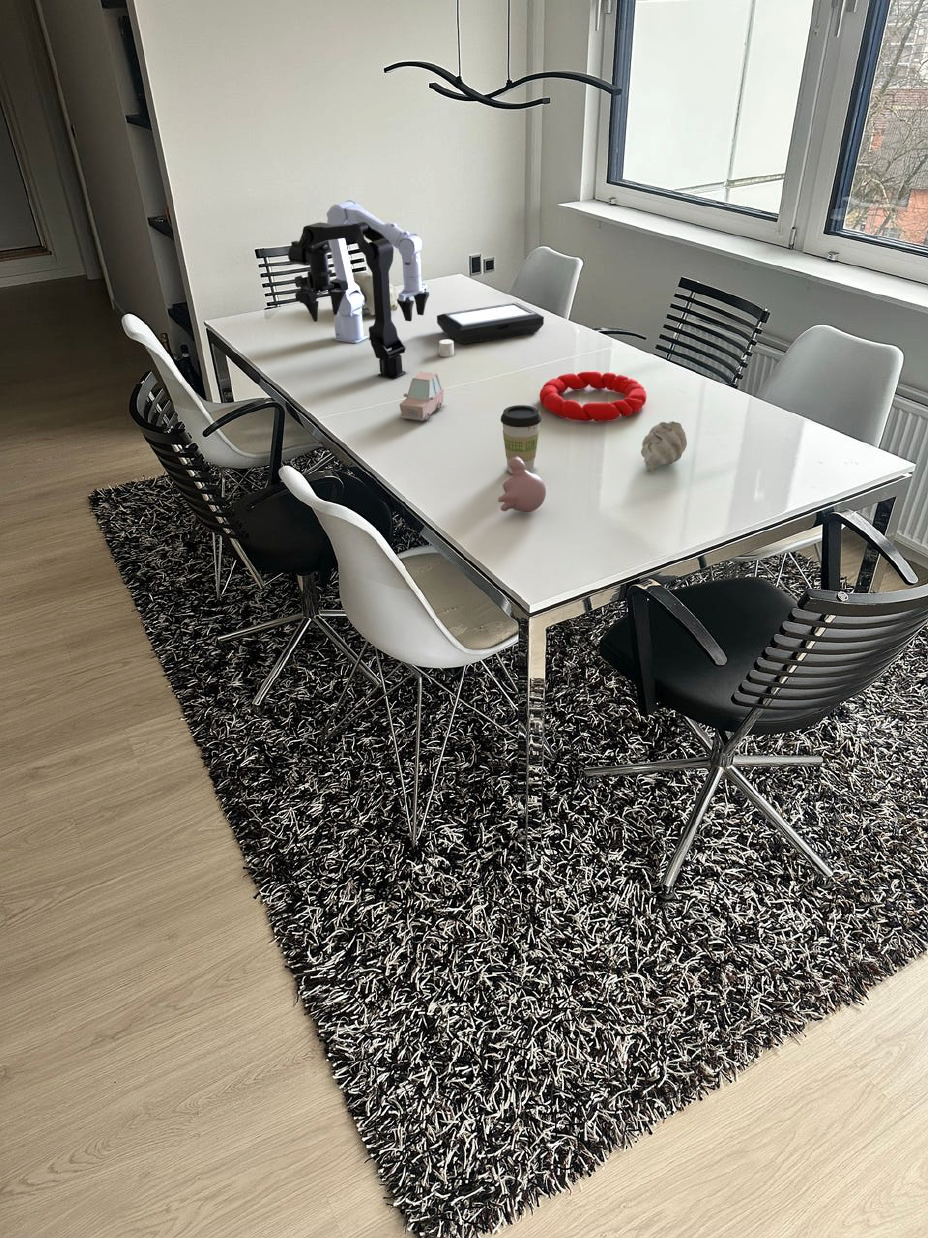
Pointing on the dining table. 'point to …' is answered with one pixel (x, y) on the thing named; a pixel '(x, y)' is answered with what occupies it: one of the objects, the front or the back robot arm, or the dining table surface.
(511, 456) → the coffee cup
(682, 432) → the seashell
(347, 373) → the dining table surface
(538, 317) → the electronic device
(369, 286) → the animal skull
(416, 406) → the toy car
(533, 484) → the figurine
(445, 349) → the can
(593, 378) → the decorative ring
